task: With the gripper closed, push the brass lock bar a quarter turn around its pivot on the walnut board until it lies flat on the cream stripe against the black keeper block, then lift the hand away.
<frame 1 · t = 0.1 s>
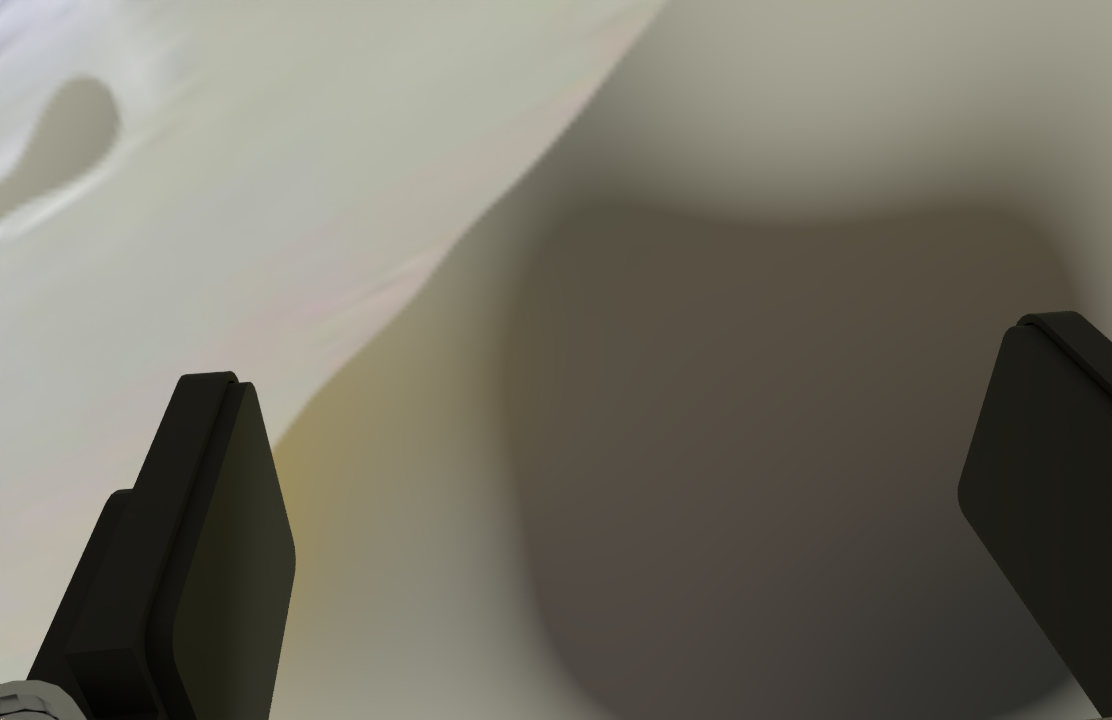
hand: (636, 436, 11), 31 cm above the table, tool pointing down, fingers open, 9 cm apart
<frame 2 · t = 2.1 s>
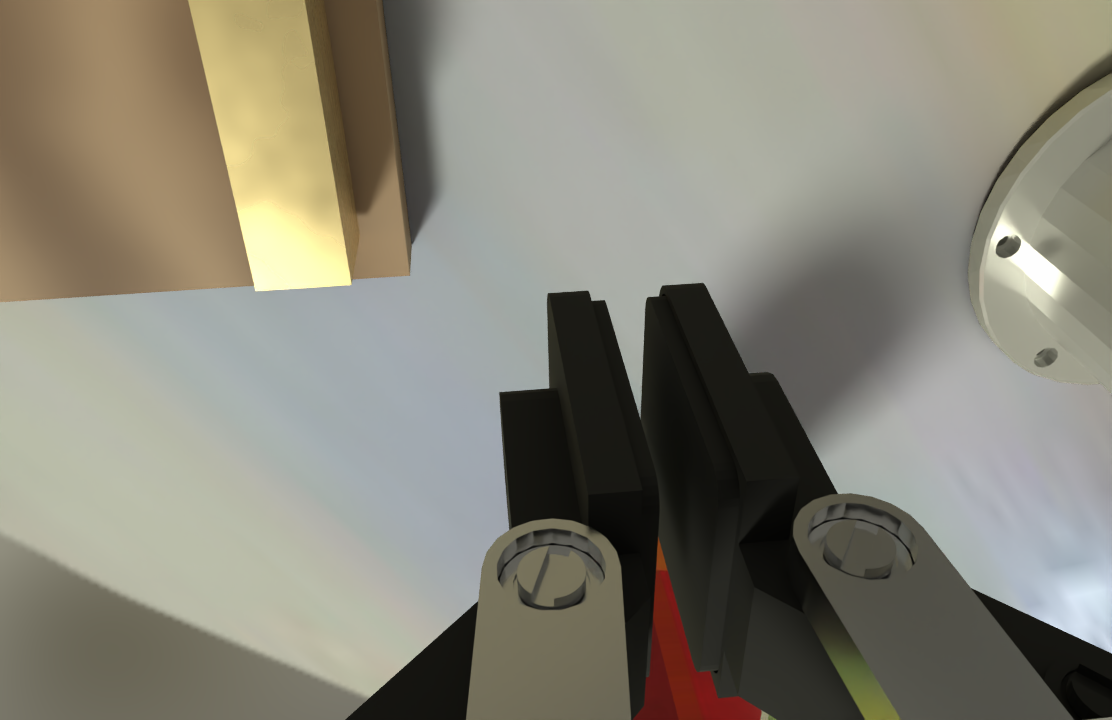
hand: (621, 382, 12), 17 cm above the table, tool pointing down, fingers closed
paper cup: (625, 545, 39), on the table
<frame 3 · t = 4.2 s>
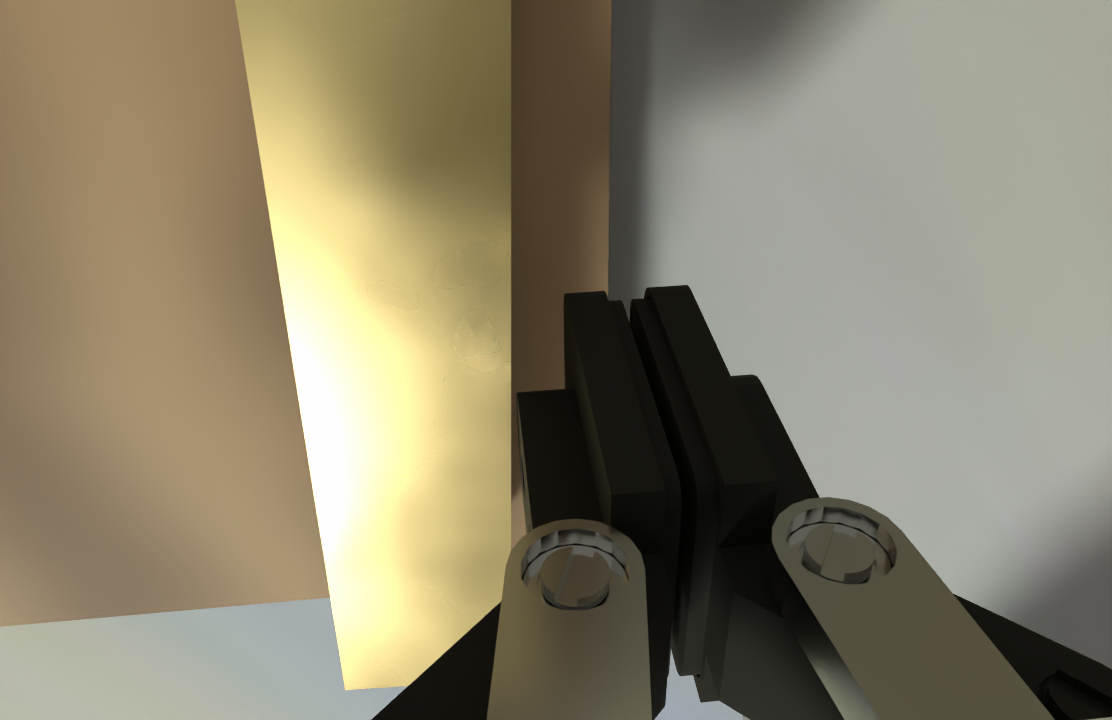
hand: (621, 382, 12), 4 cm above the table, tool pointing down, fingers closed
lock bar: (394, 152, 10), point 5 cm above the table, hinge at -2.8°, touching gripper
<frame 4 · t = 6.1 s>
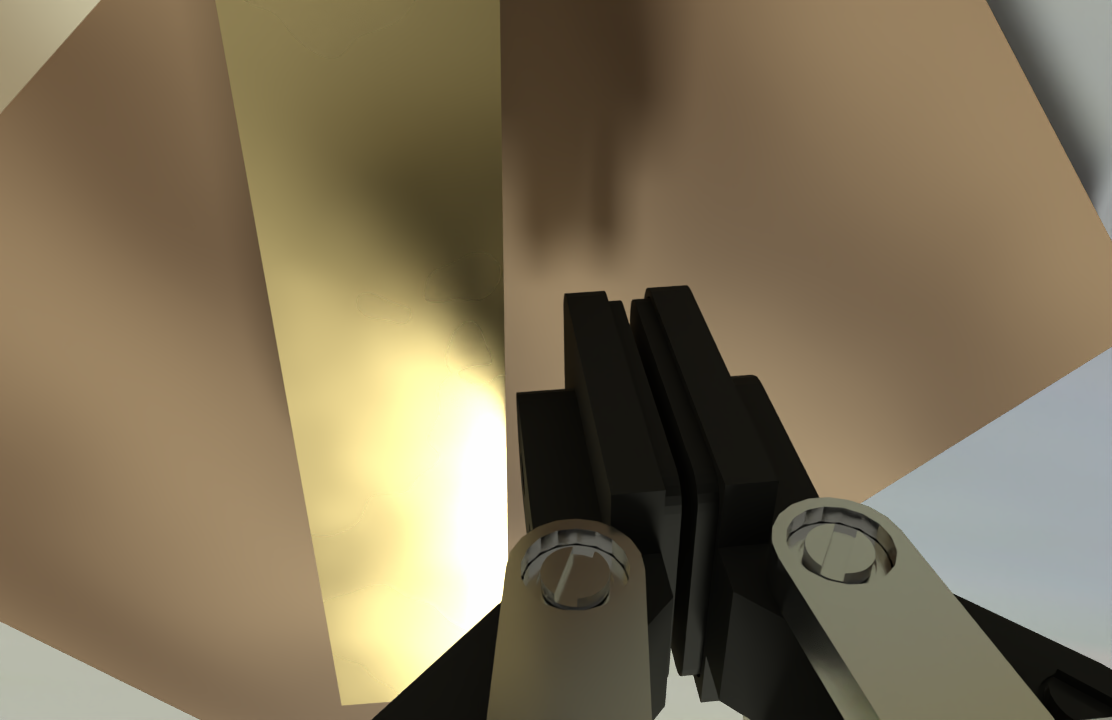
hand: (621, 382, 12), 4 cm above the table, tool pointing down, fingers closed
lock board: (340, 225, 15), on the table
lock bar: (383, 163, 10), point 4 cm above the table, hinge at -41.3°, touching gripper
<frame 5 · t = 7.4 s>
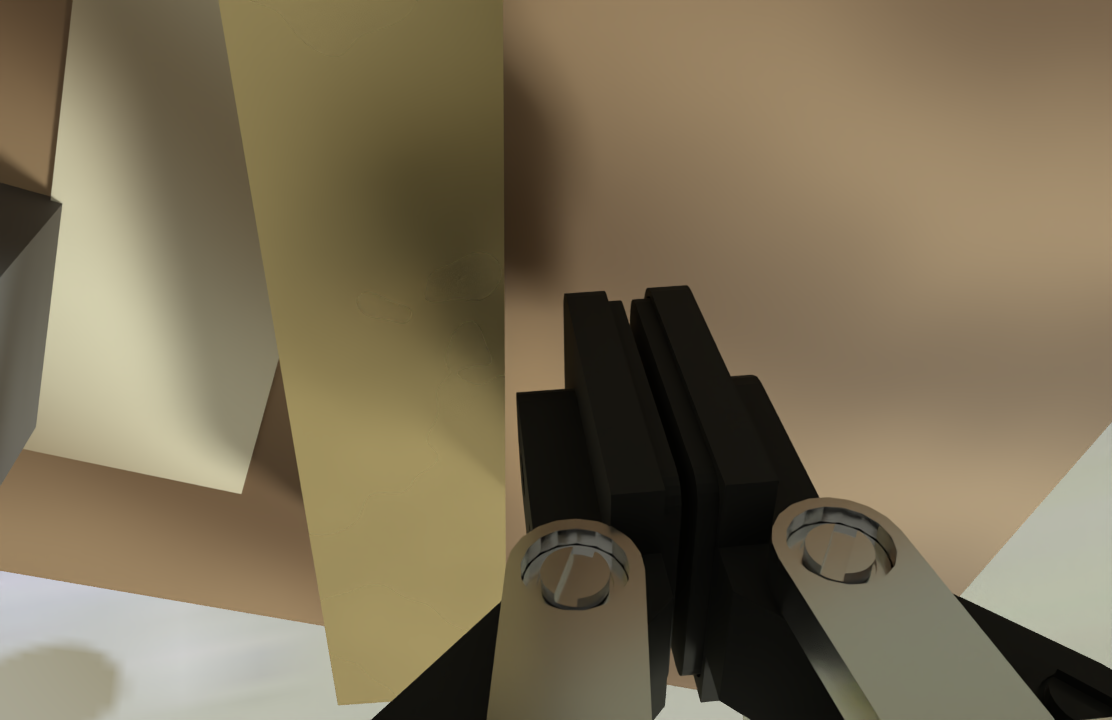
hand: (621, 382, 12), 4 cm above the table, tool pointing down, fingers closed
lock board: (614, 188, 15), on the table
lock bar: (385, 162, 10), point 4 cm above the table, hinge at -69.9°, touching gripper
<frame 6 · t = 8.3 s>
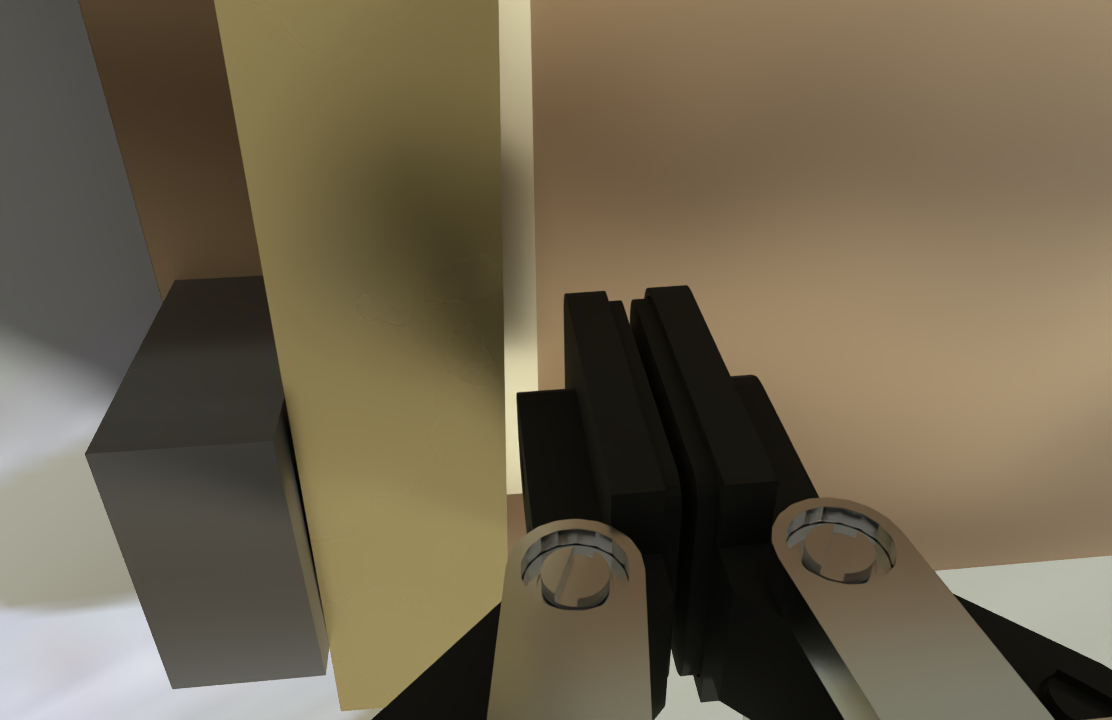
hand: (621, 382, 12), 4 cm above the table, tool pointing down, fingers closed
lock board: (800, 77, 15), on the table
lock bar: (383, 165, 10), point 4 cm above the table, hinge at -91.3°, touching gripper, lock board
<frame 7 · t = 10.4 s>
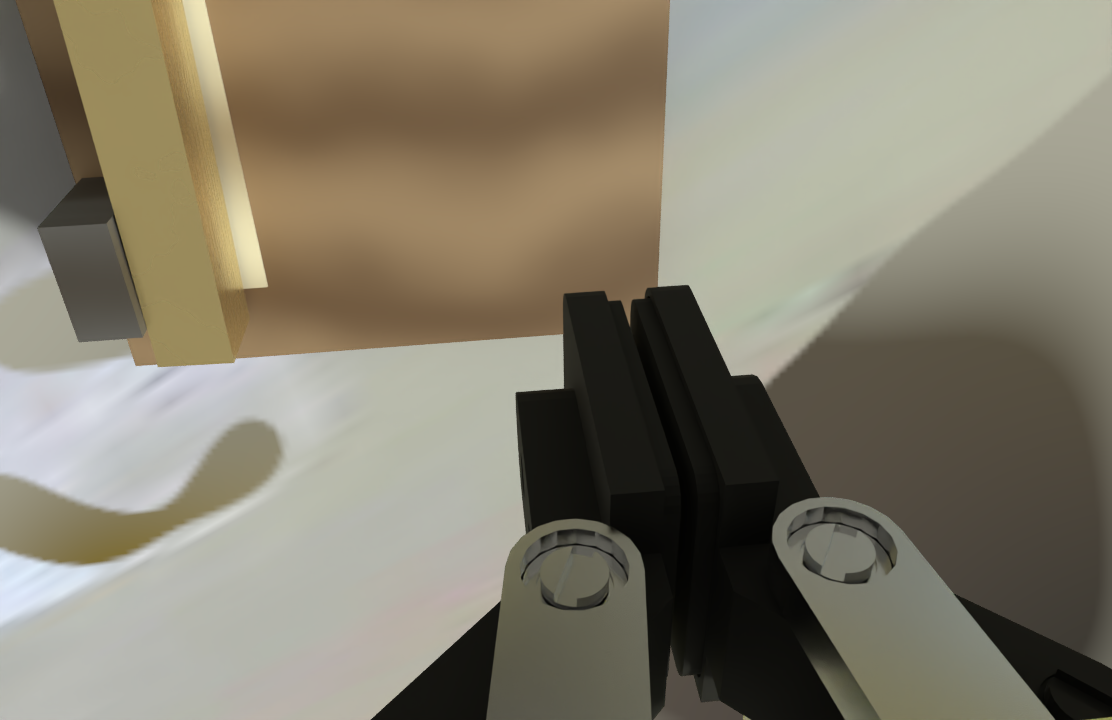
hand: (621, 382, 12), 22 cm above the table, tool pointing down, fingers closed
lock board: (372, 85, 32), on the table
lock bar: (145, 121, 27), point 4 cm above the table, hinge at -91.3°
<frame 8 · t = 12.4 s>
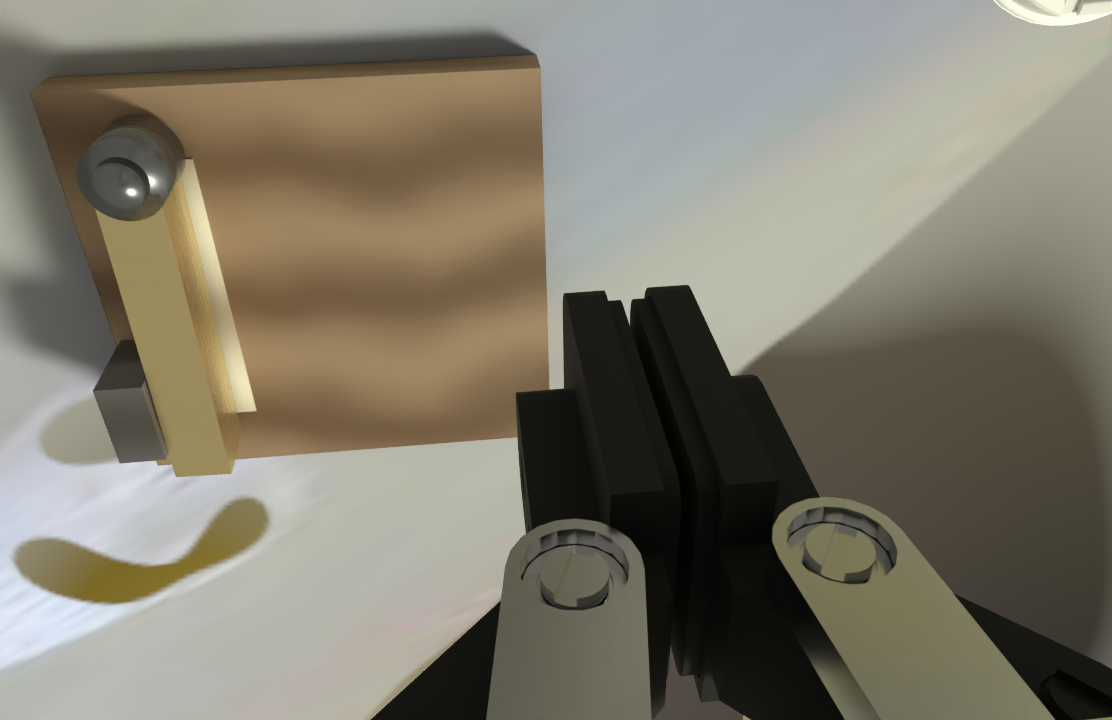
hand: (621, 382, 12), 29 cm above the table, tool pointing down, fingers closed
lock board: (332, 268, 43), on the table
lock bar: (168, 315, 39), point 5 cm above the table, hinge at -91.3°
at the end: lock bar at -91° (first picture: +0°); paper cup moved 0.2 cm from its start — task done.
